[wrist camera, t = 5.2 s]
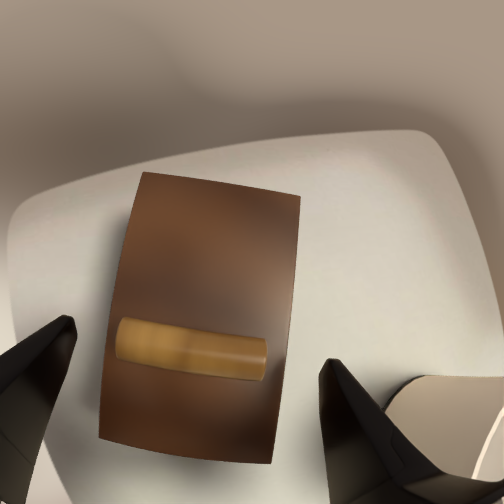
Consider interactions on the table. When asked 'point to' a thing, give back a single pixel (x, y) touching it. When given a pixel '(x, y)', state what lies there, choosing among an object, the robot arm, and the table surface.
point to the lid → (200, 320)
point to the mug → (454, 423)
